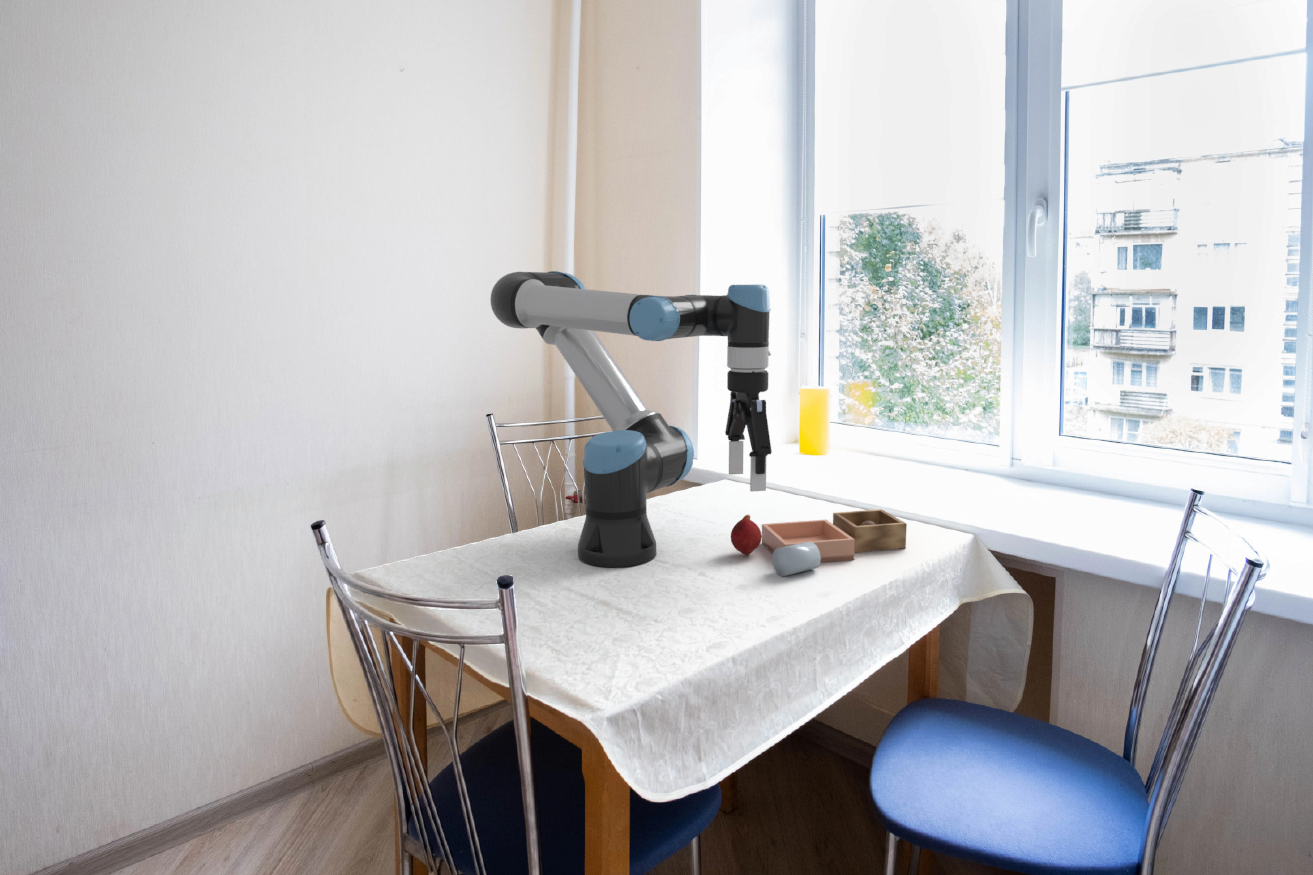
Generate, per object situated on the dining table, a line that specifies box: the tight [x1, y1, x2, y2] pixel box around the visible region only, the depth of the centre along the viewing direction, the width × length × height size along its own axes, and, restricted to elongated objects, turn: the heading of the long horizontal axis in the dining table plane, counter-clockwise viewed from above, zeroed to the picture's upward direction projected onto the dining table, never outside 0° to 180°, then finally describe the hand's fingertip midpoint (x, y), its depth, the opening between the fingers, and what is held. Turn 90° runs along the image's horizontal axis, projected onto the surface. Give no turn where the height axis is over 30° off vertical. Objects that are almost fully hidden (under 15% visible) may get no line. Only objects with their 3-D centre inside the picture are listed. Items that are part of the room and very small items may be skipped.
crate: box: [832, 508, 908, 553], centre depth 163 cm, size 11×11×5 cm
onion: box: [730, 514, 762, 556], centre depth 156 cm, size 6×6×8 cm
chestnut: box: [860, 521, 876, 526], centre depth 163 cm, size 4×4×4 cm
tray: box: [761, 519, 855, 564], centre depth 158 cm, size 14×14×4 cm
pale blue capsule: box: [771, 541, 821, 577], centre depth 147 cm, size 7×5×5 cm
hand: (746, 482), depth 154 cm, fingers open, 13 cm apart
